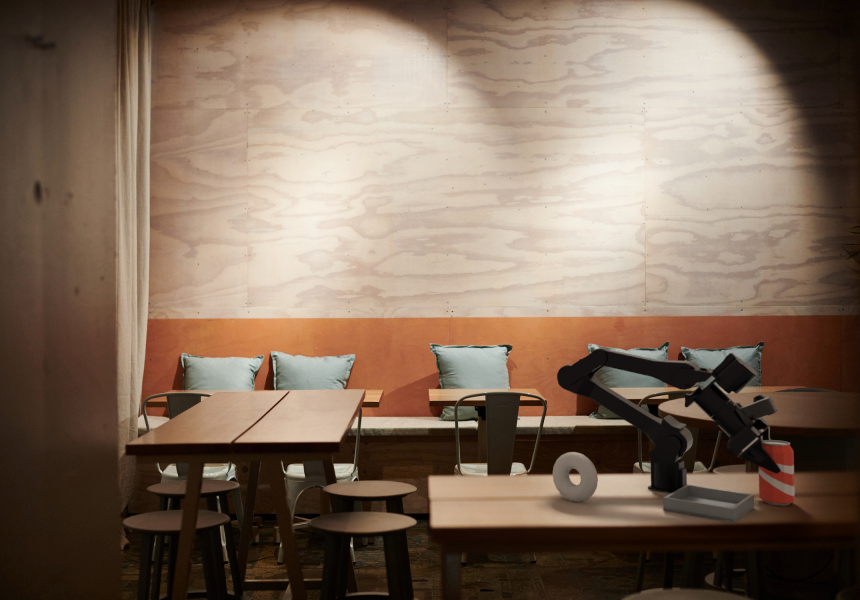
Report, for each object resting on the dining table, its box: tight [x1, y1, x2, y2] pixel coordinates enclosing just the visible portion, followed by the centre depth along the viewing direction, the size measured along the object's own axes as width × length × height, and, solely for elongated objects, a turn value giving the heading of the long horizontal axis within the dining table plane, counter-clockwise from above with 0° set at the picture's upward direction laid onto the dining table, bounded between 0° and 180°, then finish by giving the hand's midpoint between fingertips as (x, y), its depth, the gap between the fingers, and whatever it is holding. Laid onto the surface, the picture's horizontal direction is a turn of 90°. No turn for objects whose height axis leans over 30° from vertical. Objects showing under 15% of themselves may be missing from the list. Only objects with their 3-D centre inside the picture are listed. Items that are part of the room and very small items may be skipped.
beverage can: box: [758, 439, 796, 507], centre depth 138 cm, size 6×6×12 cm
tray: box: [662, 484, 755, 524], centre depth 134 cm, size 13×13×2 cm
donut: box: [552, 451, 599, 503], centre depth 140 cm, size 10×4×10 cm, turn 47°
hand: (781, 467), depth 138 cm, fingers open, 9 cm apart
